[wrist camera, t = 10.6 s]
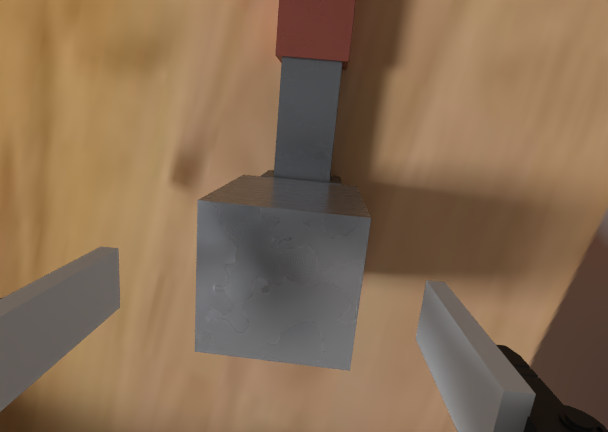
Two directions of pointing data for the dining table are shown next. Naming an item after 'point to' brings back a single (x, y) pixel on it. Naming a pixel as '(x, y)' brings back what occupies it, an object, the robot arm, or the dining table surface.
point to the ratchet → (310, 85)
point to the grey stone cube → (280, 270)
